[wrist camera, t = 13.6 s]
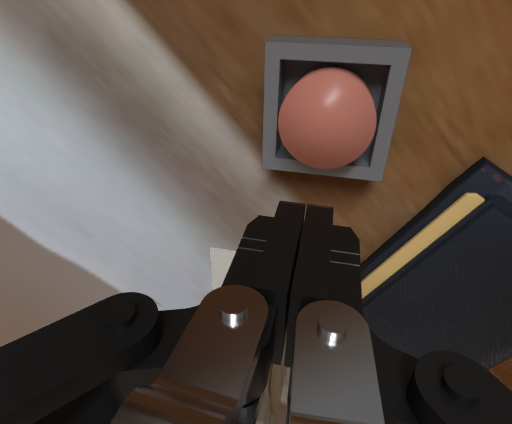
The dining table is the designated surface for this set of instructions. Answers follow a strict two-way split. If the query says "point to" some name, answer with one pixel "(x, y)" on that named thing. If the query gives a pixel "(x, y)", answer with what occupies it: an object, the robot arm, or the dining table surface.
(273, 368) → the skincare box
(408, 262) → the wallet
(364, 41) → the button housing
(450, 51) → the dining table surface
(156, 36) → the dining table surface
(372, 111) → the button
